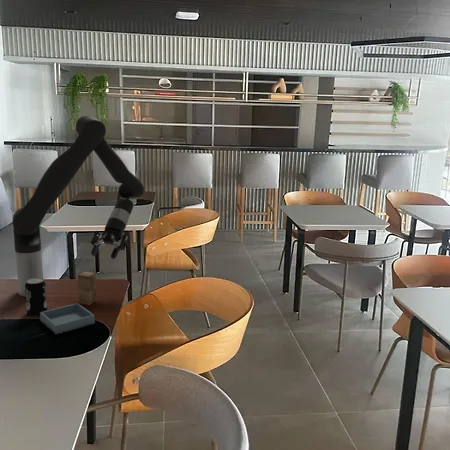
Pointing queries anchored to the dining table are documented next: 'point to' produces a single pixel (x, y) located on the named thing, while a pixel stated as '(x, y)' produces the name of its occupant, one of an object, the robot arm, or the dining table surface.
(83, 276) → the wooden block
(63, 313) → the box
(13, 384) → the dining table surface
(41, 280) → the beverage can
